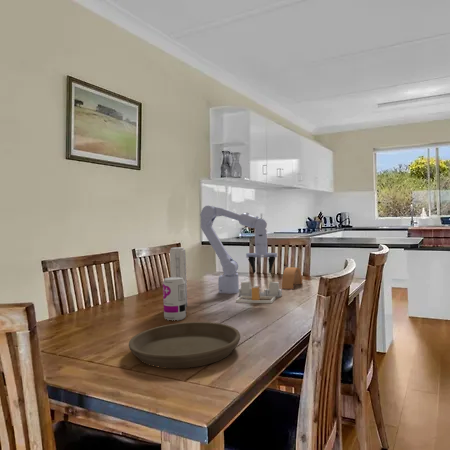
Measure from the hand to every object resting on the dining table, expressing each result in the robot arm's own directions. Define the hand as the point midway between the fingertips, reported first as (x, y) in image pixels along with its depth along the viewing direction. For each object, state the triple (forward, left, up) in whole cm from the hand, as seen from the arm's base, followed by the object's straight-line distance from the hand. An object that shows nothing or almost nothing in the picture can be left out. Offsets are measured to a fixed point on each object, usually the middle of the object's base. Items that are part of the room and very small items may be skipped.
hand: (262, 272), depth 191 cm
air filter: (-29, -32, -10) cm, 44 cm away
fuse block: (+1, -9, -10) cm, 13 cm away
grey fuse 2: (+7, -9, -9) cm, 14 cm away
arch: (+12, +19, -10) cm, 24 cm away
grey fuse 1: (-6, -9, -9) cm, 14 cm away
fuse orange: (+1, -20, -9) cm, 22 cm away
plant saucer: (-5, -83, -10) cm, 84 cm away
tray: (+1, -19, -10) cm, 22 cm away
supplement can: (-23, -50, -10) cm, 56 cm away
